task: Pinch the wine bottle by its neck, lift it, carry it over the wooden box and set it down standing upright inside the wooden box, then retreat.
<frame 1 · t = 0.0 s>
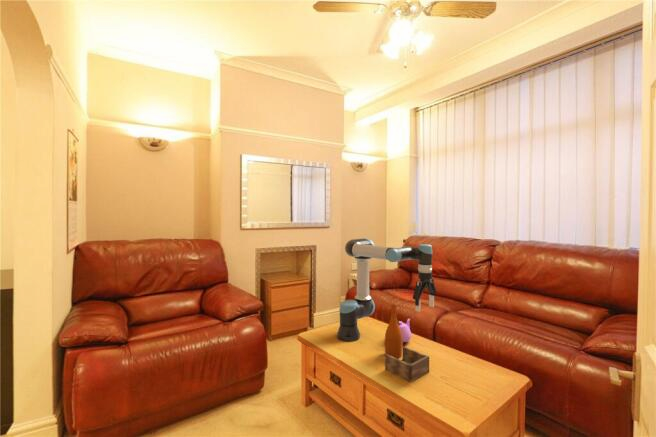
hand: (424, 308, 178), 28 cm above the table, fingers open, 13 cm apart
wine bottle: (393, 355, 182), on the table
teapot: (400, 341, 202), on the table
wooden box: (407, 371, 163), on the table
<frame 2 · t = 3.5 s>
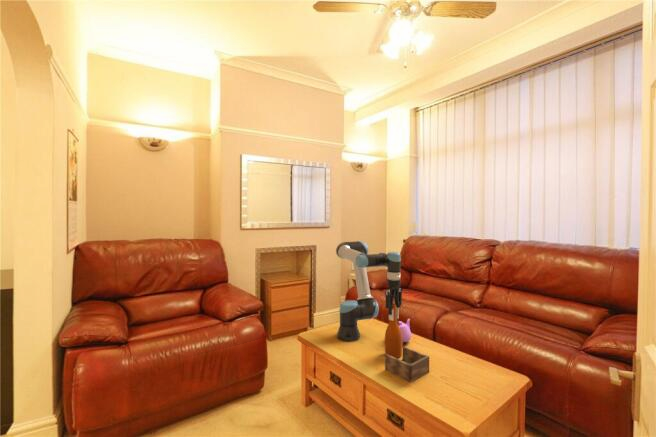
hand: (393, 319, 181), 21 cm above the table, fingers closed on wine bottle, 4 cm apart
wine bottle: (393, 355, 182), on the table, touching gripper
everything else where it was.
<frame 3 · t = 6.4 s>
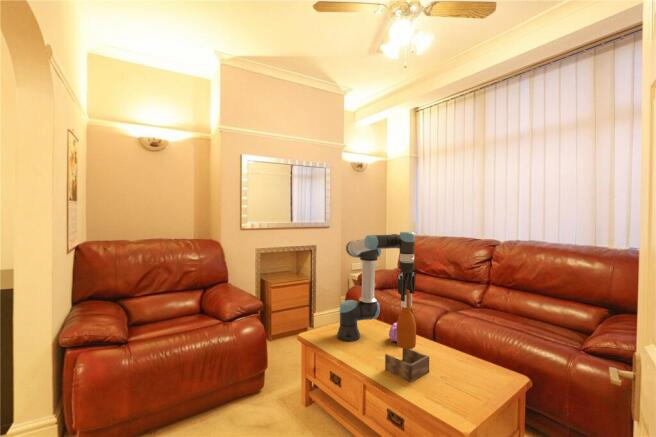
hand: (406, 306, 163), 34 cm above the table, fingers closed on wine bottle, 4 cm apart
wine bottle: (406, 346, 164), point 13 cm above the table, touching gripper
everything else where it was.
when the fingers open (24 cm above the table, at t = 9.1 s): wine bottle stays where it is, resting on wooden box.
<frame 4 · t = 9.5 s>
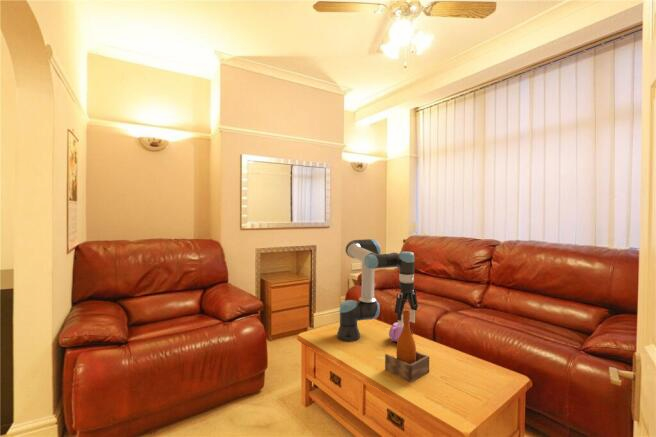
hand: (406, 324, 163), 25 cm above the table, fingers open, 9 cm apart
wine bottle: (405, 368, 164), point 1 cm above the table, touching wooden box
everything else where it was.
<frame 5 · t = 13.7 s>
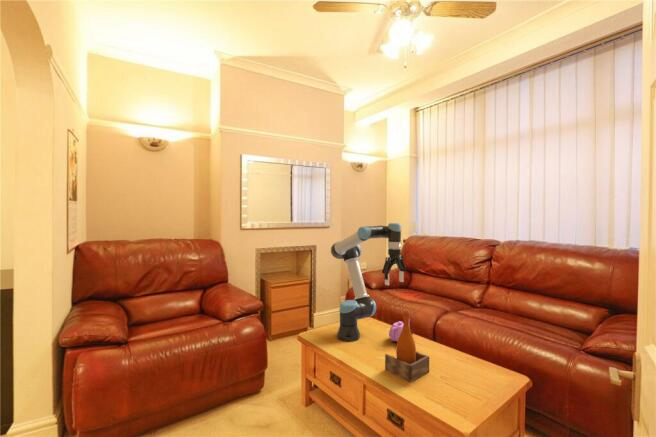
hand: (394, 283, 190), 40 cm above the table, fingers open, 13 cm apart
nothing on the table moved.
at the end: wine bottle 0.6 cm from the wooden box (horizontally); wine bottle tilted 0°; the gripper is holding nothing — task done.
